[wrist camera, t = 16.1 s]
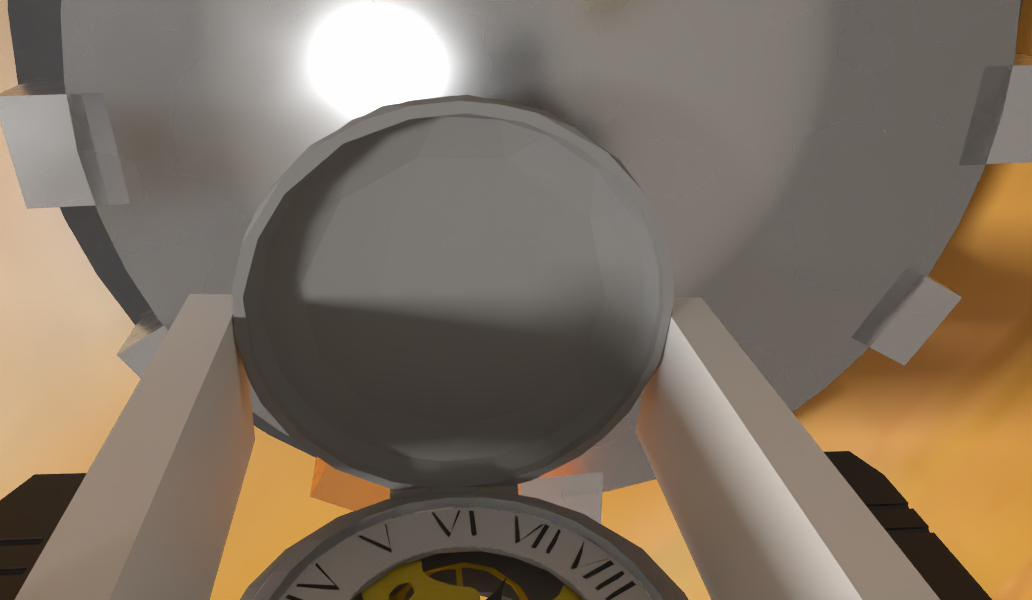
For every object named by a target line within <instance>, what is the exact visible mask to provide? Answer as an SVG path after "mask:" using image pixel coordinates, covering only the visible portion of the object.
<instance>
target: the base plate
mask: <svg viewBox="0 0 1032 600" xmlns="http://www.w3.org/2000/svg"><path fill="white" fill-rule="evenodd" d="M61 1H62V0H8V14H9V21H10V28H11V36H12V43H13V50H14V57H15V64H16V72H17V79H18V85H20V84H22V83H25V82H27V81H29V80H31V79H34V78H36V77H57V76H64V68H63V50H62V32H61V14H60V13H61ZM1021 7H1022V0H1020V10H1019V19H1020V13H1021ZM1018 25H1019V20H1018ZM1017 31H1018V30H1017ZM60 209H61V211H62V213H63V216H64V218H65V220H66V222H67V223H68V225H69V227H70V229H71V230H72V232H73V234H74V235H75V237H76V239H77V241H78V242H79V244H80V246H81V248H82V249H83V251H84V253H85V254H86V256H87V258H88V260H89V261H90V263H91V265H92V266H93V268H94V270H95V272H96V273H97V275H98V276H99V278H100V279H101V280H102V282H103V283H104V284H105V286H106V287H107V288H108V290H109V291H110V292H111V294H112V295H113V296H114V298H115V299H116V300H117V301H118V303H119V304H120V305H121V307H122V308H123V309H124V311H125V312H126V313H127V315H128V316H129V317H130V319H131V320H132V321H133V323H134V324H135V325H137V323H138V322H139V320H140V318H141V317H142V315H143V314H144V313H146V312H147V311H149V310H151V307H150V306H149V304H148V303H147V301H146V300H145V298H144V297H143V295H142V294H141V292H140V291H139V289H138V288H137V286H136V285H135V283H134V281H133V280H132V278H131V277H130V275H129V274H128V272H127V271H126V269H125V267H124V265H123V263H122V261H121V259H120V257H119V255H118V253H117V251H116V249H115V247H114V245H113V243H112V241H111V239H110V237H109V235H108V232H107V230H106V228H105V226H104V224H103V222H102V220H101V218H100V216H99V214H98V211H97V208H96V205H93V206H71V207H60ZM252 414H253V424H254V425H255V426H256V427H258V428H259V429H261V430H262V431H264V432H266V433H267V434H269V435H271V436H273V437H275V438H277V439H279V440H281V441H283V442H285V443H287V444H289V445H291V446H293V447H295V448H297V449H299V450H301V451H304V452H306V453H308V454H310V455H312V456H314V457H316V456H315V455H314V454H313V453H311V452H310V451H308V450H307V449H305V448H304V447H302V446H301V445H299V444H298V443H297V442H295V441H294V440H293V439H292V438H291V437H290V436H288V435H286V434H284V433H282V432H281V431H279V430H278V429H276V428H275V427H273V426H272V425H271V424H269V423H268V422H266V421H265V420H264V419H262V418H261V417H259V416H258V415H257V414H255V413H254V412H252Z"/></svg>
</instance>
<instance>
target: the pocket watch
mask: <svg viewBox="0 0 1032 600" xmlns="http://www.w3.org/2000/svg"><path fill="white" fill-rule="evenodd" d="M232 291H233V320H234V337H235V340H236V343H237V346H238V349H239V352H240V356H241V359H242V362H243V365H244V368H245V371H246V375H247V378H248V380H249V381H250V383H251V385H252V387H253V389H254V391H255V393H256V395H257V396H258V398H259V400H260V402H261V404H262V405H263V406H264V407H265V408H266V410H267V411H268V412H269V413H270V414H271V415H272V416H273V418H274V419H275V420H276V421H277V422H278V423H279V424H280V426H281V427H282V428H283V429H284V430H285V431H286V433H287V434H288V435H289V436H290V437H291V438H292V439H293V440H294V441H295V442H297V443H298V444H299V445H301V446H302V447H304V448H305V449H307V450H308V451H310V452H311V453H313V454H314V455H315V456H317V457H318V458H320V459H321V460H323V461H324V462H326V463H327V464H329V465H330V466H331V467H333V468H334V469H336V470H339V471H342V472H344V473H347V474H350V475H353V476H355V477H358V478H361V479H363V480H366V481H369V482H372V483H375V484H378V485H381V486H384V487H387V488H390V499H387V500H383V501H381V502H378V503H375V504H372V505H370V506H367V507H364V508H362V509H359V510H356V511H353V512H351V513H348V514H345V515H343V516H340V517H337V518H336V519H334V520H333V521H331V522H329V523H328V524H326V525H324V526H323V527H321V528H320V529H318V530H316V531H315V532H313V533H312V534H310V535H308V536H307V537H305V538H304V539H302V540H300V541H299V542H297V543H296V544H294V545H292V546H291V547H289V548H288V549H286V550H285V551H284V552H283V553H282V554H281V555H280V556H279V557H278V558H277V559H276V560H275V561H274V562H273V563H272V564H271V565H270V566H269V567H268V568H267V569H266V570H265V571H264V572H263V573H262V574H261V575H260V576H259V577H258V578H257V579H256V580H255V581H254V582H253V583H251V584H250V585H249V586H248V588H247V589H246V591H245V593H244V594H243V596H242V597H241V599H240V600H480V595H481V596H485V597H488V598H487V599H486V600H688V598H687V597H686V595H685V593H684V592H683V591H682V590H681V589H680V588H679V587H678V586H677V585H676V584H675V583H674V582H673V581H672V580H671V579H670V578H669V576H668V575H667V574H666V573H665V572H664V571H663V570H662V569H661V568H660V567H659V566H658V565H657V564H656V563H655V562H654V561H653V560H652V559H651V558H650V556H649V555H648V554H647V553H646V552H645V551H644V550H643V549H642V548H640V547H638V546H637V545H635V544H633V543H632V542H630V541H628V540H627V539H625V538H623V537H622V536H620V535H618V534H617V533H615V532H613V531H612V530H610V529H608V528H606V527H605V526H603V525H601V524H600V523H598V522H596V521H595V520H593V519H591V518H590V517H588V516H586V515H585V514H583V513H580V512H577V511H574V510H571V509H568V508H565V507H562V506H559V505H556V504H553V503H551V502H548V501H545V500H542V499H539V498H534V497H528V496H522V495H519V494H518V485H517V484H521V483H524V482H528V481H532V480H534V479H536V478H538V477H540V476H542V475H544V474H546V473H548V472H550V471H552V470H554V469H556V468H558V467H560V466H562V465H564V464H566V463H568V462H570V461H572V460H574V459H576V458H578V457H580V456H581V455H582V454H583V453H585V452H586V451H587V450H589V449H590V448H591V447H593V446H594V445H595V444H596V443H598V442H599V441H600V440H602V439H603V438H604V437H605V436H606V435H607V434H608V433H609V432H610V431H611V430H612V429H613V428H614V427H615V426H616V425H617V424H618V423H619V422H620V421H621V420H622V419H623V418H624V417H625V416H626V415H627V414H628V413H629V412H630V411H631V409H632V407H633V406H634V404H635V403H636V401H637V399H638V398H639V396H640V394H641V393H642V391H643V390H644V388H645V386H646V385H647V383H648V382H649V380H650V378H651V377H652V375H653V374H654V372H655V370H656V368H657V366H658V364H659V362H660V360H661V356H662V353H663V350H664V346H665V343H666V339H667V335H668V330H669V325H670V320H671V316H672V311H673V305H674V287H673V269H672V261H671V257H670V254H669V250H668V246H667V243H666V239H665V236H664V232H663V229H662V225H661V224H660V222H659V220H658V218H657V216H656V214H655V213H654V211H653V209H652V207H651V205H650V203H649V202H648V200H647V198H646V196H645V194H644V192H643V191H642V189H641V188H640V186H639V185H638V184H637V182H636V181H635V180H634V178H633V177H632V176H631V174H630V173H629V172H628V170H627V169H626V167H625V166H624V165H623V163H622V162H621V161H620V160H619V159H618V158H616V157H615V156H614V155H612V154H611V153H609V152H608V151H607V150H605V149H604V148H602V147H601V146H599V145H598V144H597V143H595V142H594V141H592V140H591V139H590V138H588V137H587V136H586V135H585V134H584V133H582V132H580V131H578V130H577V129H575V128H574V127H573V126H571V125H569V124H568V123H566V122H565V121H563V120H561V119H560V118H558V117H556V116H555V115H553V114H552V113H550V112H548V111H545V110H540V109H536V108H531V107H526V106H521V105H518V104H515V103H511V102H508V101H505V100H501V99H490V98H482V97H477V96H472V95H459V96H456V95H454V96H445V97H436V98H427V99H418V100H409V101H406V102H403V103H397V104H391V105H384V106H381V107H379V108H377V109H376V110H374V111H372V112H370V113H368V114H366V115H364V116H361V117H359V118H356V119H353V120H351V121H350V122H348V123H347V124H345V125H344V126H343V127H341V128H340V129H338V130H337V131H335V132H333V133H331V134H330V135H328V136H326V137H324V138H322V139H321V140H319V141H317V142H315V143H313V144H312V145H310V146H309V147H308V148H307V149H306V150H305V151H304V152H303V153H302V154H301V155H300V156H299V157H298V158H297V159H296V160H295V162H294V163H293V164H292V165H291V166H290V167H289V168H288V169H287V170H286V171H285V172H284V173H283V174H282V175H281V177H280V178H279V179H278V180H277V181H276V182H275V183H274V184H273V185H272V186H271V187H270V189H269V191H268V192H267V194H266V195H265V197H264V199H263V200H262V202H261V204H260V205H259V207H258V208H257V210H256V212H255V214H254V216H253V218H252V220H251V223H250V225H249V227H248V229H247V231H246V233H245V235H244V238H243V242H242V245H241V249H240V254H239V258H238V263H237V267H236V272H235V276H234V281H233V285H232Z"/></svg>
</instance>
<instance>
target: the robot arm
mask: <svg viewBox="0 0 1032 600" xmlns="http://www.w3.org/2000/svg"><path fill="white" fill-rule="evenodd" d="M636 434H637V436H638V439H639V441H640V443H641V445H642V447H643V450H644V452H645V454H646V456H647V458H648V461H649V463H650V465H651V467H652V469H653V472H654V474H655V476H656V478H657V480H658V483H659V485H660V487H661V489H662V491H663V494H664V496H665V498H666V500H667V503H668V505H669V507H670V509H671V511H672V514H673V516H674V518H675V520H676V522H677V525H678V527H679V529H680V531H681V533H682V536H683V538H684V540H685V542H686V544H687V547H688V549H689V551H690V553H691V555H692V558H693V560H694V562H695V564H696V566H697V569H698V571H699V573H700V575H701V578H702V580H703V582H704V584H705V586H706V589H707V591H708V593H709V595H710V597H711V600H992V599H991V598H990V597H989V596H988V594H987V593H986V592H985V591H984V590H983V589H982V587H981V586H980V585H979V584H978V583H977V582H976V581H975V579H974V578H973V577H972V576H971V575H970V574H969V572H968V571H967V570H966V569H965V568H964V567H963V566H962V564H961V563H960V562H959V561H958V560H957V559H956V557H955V556H954V555H953V554H952V553H951V552H950V551H949V549H948V548H947V547H946V546H945V545H944V544H943V542H942V541H941V540H940V539H939V538H938V537H937V536H936V534H935V533H930V532H929V529H928V528H929V526H928V525H927V524H926V523H925V522H924V521H923V519H922V518H921V517H920V516H919V515H918V514H917V513H916V511H915V510H914V509H909V507H908V502H907V501H906V500H905V499H904V498H903V496H902V495H901V494H900V493H899V492H898V491H897V489H896V488H895V487H894V486H893V485H892V484H891V483H890V481H889V480H888V479H887V478H886V477H885V476H884V475H883V474H882V473H880V472H879V471H877V470H876V469H875V468H873V467H872V466H870V465H869V464H867V463H866V462H864V461H863V460H861V459H860V458H858V457H857V456H855V455H854V454H853V453H851V452H850V451H837V452H823V451H822V449H821V448H820V447H819V446H818V444H817V443H816V442H815V441H814V439H813V438H812V437H811V436H810V434H809V433H808V432H807V430H806V429H805V428H804V427H803V425H802V424H801V423H800V422H799V420H798V419H797V418H796V417H795V415H794V414H793V413H792V412H791V410H790V409H789V408H788V406H787V405H786V404H785V403H784V401H783V400H782V399H781V398H780V396H779V395H778V394H777V393H776V391H775V390H774V389H773V387H772V386H771V385H770V384H769V382H768V381H767V380H766V379H765V377H764V376H763V375H762V374H761V372H760V371H759V370H758V368H757V367H756V366H755V365H754V363H753V362H752V361H751V360H750V358H749V357H748V356H747V355H746V353H745V352H744V351H743V350H742V348H741V347H740V346H739V344H738V343H737V342H736V341H735V339H734V338H733V337H732V336H731V334H730V333H729V332H728V331H727V329H726V328H725V327H724V325H723V324H722V323H721V322H720V320H719V319H718V318H717V317H716V315H715V314H714V313H713V312H712V310H711V309H710V308H709V307H708V305H707V304H706V303H705V301H704V300H703V299H702V298H701V297H674V305H673V311H672V316H671V320H670V325H669V330H668V335H667V339H666V343H665V346H664V350H663V353H662V356H661V360H660V362H659V364H658V366H657V368H656V370H655V372H654V374H653V375H652V377H651V378H650V380H649V382H648V383H647V385H646V386H645V388H644V390H643V391H642V396H641V402H640V408H639V414H638V420H637V426H636ZM254 441H255V435H254V424H253V414H252V403H251V392H250V382H249V380H248V378H247V375H246V371H245V368H244V365H243V362H242V359H241V356H240V352H239V349H238V346H237V343H236V340H235V337H234V320H233V294H189V296H188V298H187V299H186V301H185V303H184V305H183V306H182V308H181V310H180V312H179V313H178V315H177V317H176V318H175V320H174V322H173V324H172V325H171V327H170V329H169V331H168V332H167V334H166V336H165V338H164V339H163V341H162V343H161V345H160V346H159V348H158V350H157V352H156V353H155V355H154V357H153V359H152V360H151V362H150V364H149V366H148V367H147V369H146V371H145V373H144V374H143V376H142V378H141V380H140V381H139V383H138V385H137V387H136V388H135V390H134V392H133V394H132V395H131V397H130V399H129V401H128V402H127V404H126V406H125V408H124V409H123V411H122V413H121V415H120V416H119V418H118V420H117V422H116V423H115V425H114V427H113V429H112V430H111V432H110V434H109V436H108V437H107V439H106V441H105V443H104V444H103V446H102V448H101V450H100V451H99V453H98V455H97V457H96V458H95V460H94V462H93V464H92V465H91V467H90V469H89V471H88V472H87V473H77V474H38V475H33V476H32V477H31V478H29V479H28V480H27V481H25V482H24V483H23V484H21V485H20V486H19V487H17V488H16V489H15V490H14V491H12V492H11V493H10V494H8V495H7V496H6V497H4V498H3V499H2V500H0V600H209V599H210V596H211V592H212V589H213V585H214V582H215V578H216V575H217V571H218V568H219V564H220V560H221V557H222V553H223V550H224V546H225V543H226V539H227V536H228V532H229V529H230V525H231V522H232V518H233V515H234V511H235V508H236V504H237V501H238V497H239V494H240V490H241V487H242V483H243V480H244V476H245V473H246V469H247V466H248V462H249V459H250V455H251V452H252V448H253V445H254Z"/></svg>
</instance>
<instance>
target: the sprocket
mask: <svg viewBox="0 0 1032 600" xmlns="http://www.w3.org/2000/svg"><path fill="white" fill-rule="evenodd" d="M1019 10H1020V0H62V1H61V13H60V14H61V32H62V50H63V68H64V76H57V77H36V78H34V79H31V80H29V81H27V82H25V83H22V84H20V85H18V86H15V87H13V88H11V89H9V90H6V91H4V92H2V93H0V122H1V125H2V129H3V132H4V135H5V138H6V142H7V145H8V148H9V152H10V155H11V158H12V161H13V165H14V168H15V171H16V175H17V178H18V181H19V184H20V188H21V191H22V194H23V197H24V201H25V204H26V207H27V209H28V208H49V207H71V206H93V205H96V208H97V211H98V214H99V216H100V218H101V220H102V222H103V224H104V226H105V228H106V230H107V232H108V235H109V237H110V239H111V241H112V243H113V245H114V247H115V249H116V251H117V253H118V255H119V257H120V259H121V261H122V263H123V265H124V267H125V269H126V271H127V272H128V274H129V275H130V277H131V278H132V280H133V281H134V283H135V285H136V286H137V288H138V289H139V291H140V292H141V294H142V295H143V297H144V298H145V300H146V301H147V303H148V304H149V306H150V307H151V310H149V311H147V312H146V313H144V314H143V315H142V317H141V318H140V320H139V322H138V323H137V325H136V326H135V328H134V329H133V331H132V332H131V334H130V335H129V337H128V338H127V340H126V341H125V343H124V345H123V346H122V348H121V349H120V351H119V352H118V354H117V355H118V356H119V357H120V358H121V359H122V360H123V361H124V362H125V363H126V364H127V365H128V366H129V367H130V368H131V369H132V370H133V371H134V372H135V373H136V374H137V375H138V376H139V377H140V378H142V376H143V374H144V373H145V371H146V369H147V367H148V366H149V364H150V362H151V360H152V359H153V357H154V355H155V353H156V352H157V350H158V348H159V346H160V345H161V343H162V341H163V339H164V338H165V336H166V334H167V332H168V331H169V329H170V327H171V325H172V324H173V322H174V320H175V318H176V317H177V315H178V313H179V312H180V310H181V308H182V306H183V305H184V303H185V301H186V299H187V298H188V296H189V294H233V291H232V285H233V281H234V276H235V272H236V267H237V263H238V258H239V254H240V249H241V245H242V242H243V238H244V235H245V233H246V231H247V229H248V227H249V225H250V223H251V220H252V218H253V216H254V214H255V212H256V210H257V208H258V207H259V205H260V204H261V202H262V200H263V199H264V197H265V195H266V194H267V192H268V191H269V189H270V187H271V186H272V185H273V184H274V183H275V182H276V181H277V180H278V179H279V178H280V177H281V175H282V174H283V173H284V172H285V171H286V170H287V169H288V168H289V167H290V166H291V165H292V164H293V163H294V162H295V160H296V159H297V158H298V157H299V156H300V155H301V154H302V153H303V152H304V151H305V150H306V149H307V148H308V147H309V146H310V145H312V144H313V143H315V142H317V141H319V140H321V139H322V138H324V137H326V136H328V135H330V134H331V133H333V132H335V131H337V130H338V129H340V128H341V127H343V126H344V125H345V124H347V123H348V122H350V121H351V120H353V119H356V118H359V117H361V116H364V115H366V114H368V113H370V112H372V111H374V110H376V109H377V108H379V107H381V106H384V105H391V104H397V103H403V102H406V101H409V100H418V99H427V98H436V97H445V96H454V95H456V96H459V95H472V96H477V97H482V98H490V99H501V100H505V101H508V102H511V103H515V104H518V105H521V106H526V107H531V108H536V109H540V110H545V111H548V112H550V113H552V114H553V115H555V116H556V117H558V118H560V119H561V120H563V121H565V122H566V123H568V124H569V125H571V126H573V127H574V128H575V129H577V130H578V131H580V132H582V133H584V134H585V135H586V136H587V137H588V138H590V139H591V140H592V141H594V142H595V143H597V144H598V145H599V146H601V147H602V148H604V149H605V150H607V151H608V152H609V153H611V154H612V155H614V156H615V157H616V158H618V159H619V160H620V161H621V162H622V163H623V165H624V166H625V167H626V169H627V170H628V172H629V173H630V174H631V176H632V177H633V178H634V180H635V181H636V182H637V184H638V185H639V186H640V188H641V189H642V191H643V192H644V194H645V196H646V198H647V200H648V202H649V203H650V205H651V207H652V209H653V211H654V213H655V214H656V216H657V218H658V220H659V222H660V224H661V225H662V229H663V232H664V236H665V239H666V243H667V246H668V250H669V254H670V257H671V261H672V269H673V287H674V297H701V298H702V299H703V300H704V301H705V303H706V304H707V305H708V307H709V308H710V309H711V310H712V312H713V313H714V314H715V315H716V317H717V318H718V319H719V320H720V322H721V323H722V324H723V325H724V327H725V328H726V329H727V331H728V332H729V333H730V334H731V336H732V337H733V338H734V339H735V341H736V342H737V343H738V344H739V346H740V347H741V348H742V350H743V351H744V352H745V353H746V355H747V356H748V357H749V358H750V360H751V361H752V362H753V363H754V365H755V366H756V367H757V368H758V370H759V371H760V372H761V374H762V375H763V376H764V377H765V379H766V380H767V381H768V382H769V384H770V385H771V386H772V387H773V389H774V390H775V391H776V393H777V394H778V395H779V396H780V398H781V399H782V400H783V401H784V403H785V404H786V405H787V406H788V408H789V409H790V410H791V412H793V411H795V410H796V409H798V408H799V407H800V406H802V405H803V404H804V403H806V402H807V401H808V400H810V399H811V398H812V397H814V396H815V395H816V394H818V393H819V392H820V391H822V390H823V389H824V388H826V387H827V386H828V385H829V384H830V383H831V382H833V381H834V380H835V379H836V378H837V377H838V376H839V375H840V374H841V373H842V372H844V371H845V370H846V369H847V368H848V367H849V366H850V365H851V364H852V363H854V362H855V361H856V360H857V359H858V358H859V357H860V356H861V355H862V354H863V353H865V351H866V350H867V349H868V348H871V349H873V350H875V351H877V352H879V353H881V354H883V355H885V356H887V357H888V358H890V359H892V360H894V361H896V362H898V363H900V364H902V365H904V366H905V365H906V364H907V363H908V361H909V360H910V359H911V358H912V357H913V355H914V354H915V353H916V352H917V351H918V350H919V348H920V347H921V346H922V345H923V344H924V342H925V341H926V340H927V339H928V338H929V337H930V335H931V334H932V333H933V332H934V331H935V329H936V328H937V327H938V326H939V325H940V324H941V322H942V321H943V320H944V319H945V318H946V316H947V315H948V314H949V313H950V312H951V311H952V309H953V308H954V307H955V306H956V305H957V303H958V302H959V301H960V300H961V299H962V297H961V296H959V295H958V294H956V293H955V292H953V291H952V290H950V289H949V288H948V287H946V286H945V285H943V284H942V283H940V282H939V281H937V280H936V279H934V278H933V277H931V276H930V275H929V273H930V272H931V271H932V269H933V267H934V265H935V264H936V262H937V260H938V259H939V257H940V255H941V254H942V252H943V250H944V249H945V247H946V245H947V244H948V242H949V240H950V238H951V237H952V235H953V233H954V232H955V230H956V228H957V227H958V225H959V223H960V221H961V219H962V217H963V215H964V212H965V210H966V208H967V206H968V204H969V202H970V199H971V197H972V195H973V193H974V191H975V189H976V186H977V184H978V182H979V180H980V178H981V176H982V173H983V171H984V168H985V165H986V164H1002V163H1024V162H1032V56H1029V55H1024V54H1020V53H1015V50H1016V40H1017V30H1018V20H1019ZM249 382H250V381H249ZM250 392H251V403H252V412H254V413H255V414H257V415H258V416H259V417H261V418H262V419H264V420H265V421H266V422H268V423H269V424H271V425H272V426H273V427H275V428H276V429H278V430H279V431H281V432H282V433H284V434H286V435H288V434H287V433H286V431H285V430H284V429H283V428H282V427H281V426H280V424H279V423H278V422H277V421H276V420H275V419H274V418H273V416H272V415H271V414H270V413H269V412H268V411H267V410H266V408H265V407H264V406H263V405H262V404H261V402H260V400H259V398H258V396H257V395H256V393H255V391H254V389H253V387H252V385H251V383H250ZM641 396H642V393H641V394H640V396H639V398H638V399H637V401H636V403H635V404H634V406H633V407H632V409H631V411H630V412H629V413H628V414H627V415H626V416H625V417H624V418H623V419H622V420H621V421H620V422H619V423H618V424H617V425H616V426H615V427H614V428H613V429H612V430H611V431H610V432H609V433H608V434H607V435H606V436H605V437H604V438H603V439H602V440H600V441H599V442H598V443H596V444H595V445H594V446H593V447H591V448H590V449H589V450H587V451H586V452H585V453H583V454H582V455H581V456H580V457H578V458H576V459H574V460H572V461H570V462H568V463H566V464H564V465H562V466H560V467H558V468H556V469H554V470H552V471H550V472H548V473H546V474H544V475H542V476H540V477H538V478H536V479H534V480H532V481H528V482H524V483H521V484H517V485H518V494H519V495H522V496H528V497H534V498H539V499H542V500H545V501H548V502H551V503H553V504H556V505H559V506H562V507H565V508H568V509H571V510H574V511H577V512H580V513H583V514H585V515H586V516H588V517H590V518H591V519H593V520H595V521H596V522H598V523H600V524H601V509H602V492H604V491H610V490H614V489H618V488H622V487H626V486H630V485H634V484H638V483H642V482H646V481H650V480H654V479H657V478H656V476H655V474H654V472H653V469H652V467H651V465H650V463H649V461H648V458H647V456H646V454H645V452H644V450H643V447H642V445H641V443H640V441H639V439H638V436H637V434H636V426H637V420H638V414H639V408H640V402H641ZM288 436H289V435H288ZM310 497H313V498H316V499H319V500H322V501H325V502H328V503H331V504H335V505H338V506H341V507H344V508H347V509H350V510H353V511H356V510H359V509H362V508H364V507H367V506H370V505H372V504H375V503H378V502H381V501H383V500H387V499H390V488H387V487H384V486H381V485H378V484H375V483H372V482H369V481H366V480H363V479H361V478H358V477H355V476H353V475H350V474H347V473H344V472H342V471H339V470H336V469H334V468H333V467H331V466H330V465H329V464H327V463H326V462H324V461H323V460H321V459H320V458H318V457H317V456H316V462H315V468H314V475H313V481H312V487H311V493H310Z"/></svg>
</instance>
